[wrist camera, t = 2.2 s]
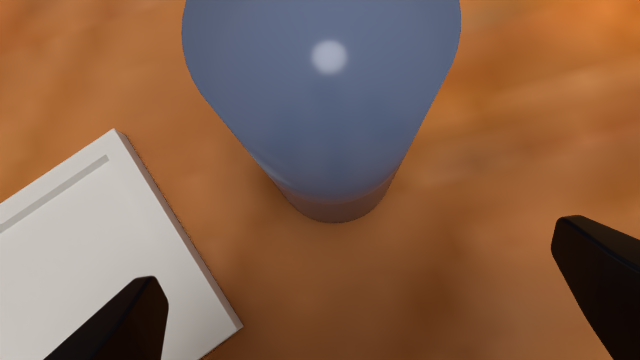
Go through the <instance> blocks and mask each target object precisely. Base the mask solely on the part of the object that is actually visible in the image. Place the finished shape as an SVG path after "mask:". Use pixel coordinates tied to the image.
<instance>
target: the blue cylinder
mask: <svg viewBox="0 0 640 360" xmlns="http://www.w3.org/2000/svg"><path fill="white" fill-rule="evenodd" d="M460 32H461V11H460V3H459V0H186V4H185V8H184V13H183V19H182V45H183V52H184V56H185V60H186V64H187V67H188V70H189V72H190V75H191V77H192V79H193V81H194V83H195V85H196V86H197V88H198V90H199V91H200V93H201V95H202V96H203V97H204V98H205V100H206V101H207V102H208V103H209V105H210V106H211V107H212V108H213V109H214V111H215V112H216V113H217V114H218V116H219V117H220V118H221V119H222V120H223V122H224V123H225V124H226V125H227V126H228V128H229V129H230V130H231V131H232V133H233V134H234V135H235V136H236V137H237V139H238V140H239V141H240V142H241V144H242V145H243V146H244V147H245V148H246V150H247V151H248V152H249V153H250V154H251V156H252V157H253V158H254V159H255V161H256V162H257V163H258V164H259V165H260V167H261V168H262V169H263V170H264V172H265V173H266V174H267V175H268V176H269V178H270V179H271V180H272V181H273V183H274V184H275V185H276V186H277V187H278V189H279V190H280V191H281V192H282V193H283V195H284V196H285V197H286V198H287V200H288V201H289V202H290V203H291V204H292V205H293V206H294V207H295V208H296V209H297V210H298V211H299V212H301V213H302V214H303V215H305V216H307V217H309V218H311V219H314V220H317V221H320V222H325V223H344V222H349V221H352V220H355V219H358V218H360V217H362V216H364V215H365V214H367V213H369V212H370V211H371V210H372V209H374V208H375V207H376V206H377V205H378V204H379V202H380V201H381V200H382V198H383V197H384V196H385V194H386V192H387V190H388V188H389V186H390V184H391V182H392V180H393V178H394V176H395V174H396V172H397V170H398V168H399V167H400V165H401V163H402V161H403V159H404V157H405V155H406V153H407V151H408V149H409V147H410V145H411V143H412V141H413V139H414V137H415V135H416V134H417V132H418V130H419V128H420V126H421V124H422V122H423V120H424V118H425V116H426V114H427V112H428V110H429V108H430V106H431V104H432V102H433V100H434V99H435V97H436V95H437V93H438V91H439V89H440V87H441V85H442V83H443V81H444V79H445V77H446V75H447V73H448V71H449V69H450V67H451V65H452V63H453V60H454V57H455V54H456V51H457V48H458V43H459V38H460Z"/></svg>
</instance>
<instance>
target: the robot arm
mask: <svg viewBox="0 0 640 360" xmlns="http://www.w3.org/2000/svg"><path fill="white" fill-rule="evenodd" d="M551 252H552V255H553V258H554V260H555V261H556V263H557V265H558V267H559V269H560V271H561V273H562V275H563V277H564V278H565V280H566V282H567V284H568V286H569V288H570V290H571V292H572V293H573V295H574V297H575V299H576V301H577V303H578V305H579V307H580V309H581V310H582V312H583V314H584V316H585V317H586V319H587V321H588V322H589V324H590V325H591V327H592V328H593V330H594V331H595V333H596V334H597V336H598V337H599V339H600V340H601V342H602V343H603V345H604V346H605V348H606V349H607V351H608V352H609V354H610V355H611V357H612V358H613V360H640V240H639V239H636V238H634V237H631V236H629V235H627V234H624V233H622V232H620V231H617V230H615V229H612V228H610V227H608V226H605V225H603V224H600V223H598V222H596V221H593V220H591V219H589V218H586V217H584V216H581V215H572V216H565V217H561V218H559V219H558V220H557V222H556V226H555V230H554V234H553V238H552V243H551ZM168 312H169V303H168V299H167V297H166V295H165V293H164V291H163V289H162V287H161V285H160V284H159V282H158V280H157V278H156V277H155V276H151V275H150V276H143V277H137V278H135V279H133V280H132V281H131V282H130V283H128V284H127V285H126V286H125V287H124V288H123V289H122V290H121V291H119V292H118V293H117V294H116V295H115V296H114V297H113V298H112V299H110V300H109V301H108V302H107V303H106V304H105V305H104V306H103V307H102V308H100V309H99V310H98V311H97V312H96V313H95V314H94V315H93V316H91V317H90V318H89V319H88V320H87V321H86V322H85V323H84V324H82V325H81V326H80V327H79V328H78V329H77V330H76V331H75V332H73V333H72V334H71V335H70V336H69V337H68V338H67V339H66V340H64V341H63V342H62V343H61V344H60V345H59V346H58V347H57V348H55V349H54V350H53V351H52V352H51V353H50V354H49V355H48V356H47V357H45V358H44V359H43V360H161V357H162V350H163V344H164V337H165V331H166V325H167V318H168Z"/></svg>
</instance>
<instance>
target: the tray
mask: <svg viewBox="0 0 640 360" xmlns="http://www.w3.org/2000/svg"><path fill="white" fill-rule="evenodd" d="M150 275H151V276H155V277H156V278H157V280H158V282H159V284H160V285H161V287H162V289H163V291H164V293H165V295H166V297H167V299H168V303H169V312H168V318H167V325H166V331H165V337H164V344H163V350H162V357H161V360H199V359H201V358H202V357H203V356H205V355H206V354H207V353H209V352H210V351H211V350H213V349H214V348H216V347H217V346H218V345H220V344H221V343H222V342H224V341H225V340H226V339H228V338H229V337H230V336H232V335H233V334H234V333H236V332H237V331H238V330H240V329H241V328H242V327H244V326H243V324H242V323H241V321H240V320H239V318H238V316H237V315H236V313H235V311H234V310H233V308H232V307H231V305H230V303H229V302H228V300H227V299H226V297H225V295H224V294H223V292H222V290H221V289H220V287H219V286H218V284H217V282H216V281H215V279H214V278H213V276H212V274H211V273H210V271H209V269H208V268H207V266H206V265H205V263H204V261H203V260H202V258H201V257H200V255H199V253H198V252H197V250H196V248H195V247H194V245H193V244H192V242H191V240H190V239H189V237H188V236H187V234H186V232H185V231H184V229H183V227H182V226H181V224H180V223H179V221H178V219H177V218H176V216H175V215H174V213H173V211H172V210H171V208H170V206H169V205H168V203H167V202H166V200H165V198H164V197H163V195H162V194H161V192H160V190H159V189H158V187H157V185H156V184H155V182H154V181H153V179H152V177H151V176H150V174H149V173H148V171H147V169H146V168H145V166H144V164H143V163H142V161H141V160H140V158H139V156H138V155H137V153H136V152H135V150H134V148H133V147H132V145H131V143H130V142H129V140H128V139H127V137H126V135H124V134H122V133H121V132H119V131H117V130H116V129H114V128H113V129H112V130H110V131H109V132H107V133H106V134H104V135H103V136H101V137H100V138H98V139H97V140H95V141H94V142H92V143H91V144H89V145H88V146H86V147H85V148H83V149H82V150H80V151H79V152H77V153H76V154H74V155H73V156H71V157H70V158H68V159H67V160H65V161H64V162H62V163H61V164H59V165H58V166H56V167H55V168H53V169H52V170H50V171H49V172H47V173H46V174H44V175H43V176H41V177H40V178H38V179H37V180H35V181H34V182H32V183H31V184H29V185H28V186H26V187H25V188H23V189H22V190H20V191H19V192H17V193H16V194H14V195H13V196H11V197H10V198H8V199H7V200H5V201H4V202H2V203H1V204H0V360H43V359H44V358H45V357H47V356H48V355H49V354H50V353H51V352H52V351H53V350H54V349H55V348H57V347H58V346H59V345H60V344H61V343H62V342H63V341H64V340H66V339H67V338H68V337H69V336H70V335H71V334H72V333H73V332H75V331H76V330H77V329H78V328H79V327H80V326H81V325H82V324H84V323H85V322H86V321H87V320H88V319H89V318H90V317H91V316H93V315H94V314H95V313H96V312H97V311H98V310H99V309H100V308H102V307H103V306H104V305H105V304H106V303H107V302H108V301H109V300H110V299H112V298H113V297H114V296H115V295H116V294H117V293H118V292H119V291H121V290H122V289H123V288H124V287H125V286H126V285H127V284H128V283H130V282H131V281H132V280H133V279H135V278H137V277H143V276H150Z"/></svg>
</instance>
